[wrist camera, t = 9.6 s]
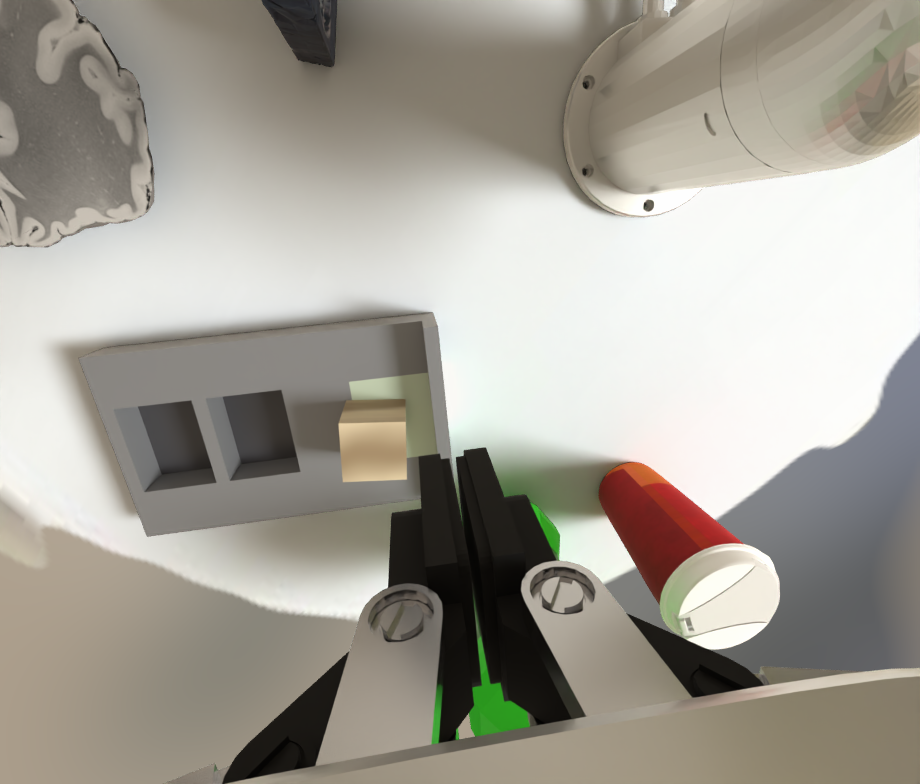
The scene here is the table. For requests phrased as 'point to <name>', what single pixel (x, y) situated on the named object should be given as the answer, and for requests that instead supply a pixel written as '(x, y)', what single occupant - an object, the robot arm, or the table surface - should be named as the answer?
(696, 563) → the coffee cup
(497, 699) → the plastic bottle
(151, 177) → the brain slice
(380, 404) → the birch block
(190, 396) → the box
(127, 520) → the table surface
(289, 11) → the vhs cassette tape
